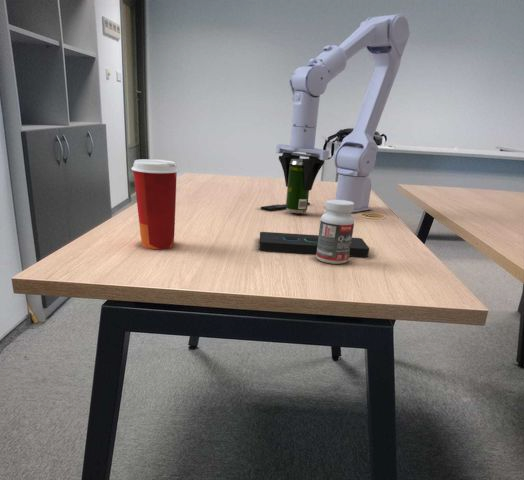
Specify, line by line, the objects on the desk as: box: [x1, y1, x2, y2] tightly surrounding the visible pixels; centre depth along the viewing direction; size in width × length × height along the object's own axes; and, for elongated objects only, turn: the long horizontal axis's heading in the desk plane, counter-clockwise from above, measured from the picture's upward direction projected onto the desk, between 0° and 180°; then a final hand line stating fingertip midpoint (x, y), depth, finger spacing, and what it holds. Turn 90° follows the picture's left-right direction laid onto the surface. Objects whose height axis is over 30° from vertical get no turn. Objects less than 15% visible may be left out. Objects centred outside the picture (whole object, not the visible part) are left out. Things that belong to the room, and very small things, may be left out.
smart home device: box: [258, 231, 370, 258], centre depth 89 cm, size 8×2×20 cm
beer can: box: [285, 157, 310, 214], centre depth 114 cm, size 5×5×12 cm
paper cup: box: [131, 158, 179, 250], centre depth 81 cm, size 8×8×14 cm
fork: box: [260, 201, 310, 212], centre depth 124 cm, size 17×3×1 cm, turn 136°
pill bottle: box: [315, 199, 355, 265], centre depth 81 cm, size 6×6×10 cm
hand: (298, 188), depth 115 cm, fingers closed on beer can, 5 cm apart
